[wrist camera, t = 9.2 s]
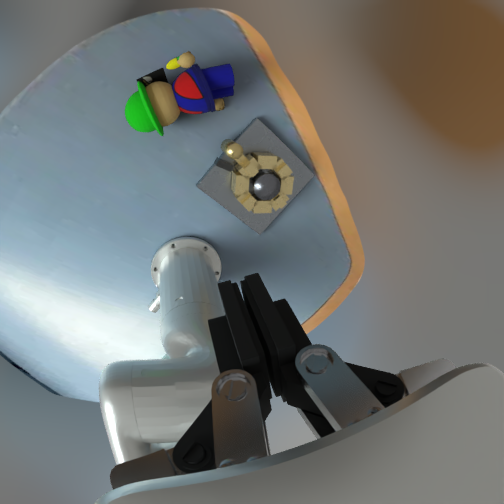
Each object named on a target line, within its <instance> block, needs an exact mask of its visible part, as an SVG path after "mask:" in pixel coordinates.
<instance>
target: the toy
mask: <svg viewBox="0 0 504 504" xmlns="http://www.w3.org/2000/svg"><path fill="white" fill-rule="evenodd" d="M194 62H195V57H194V56H193V55H192V54H191V52H189V51H188V52H186V53H183V54H182V55H181V56H179V57H176V58H174V59H172V60H171V61H169V62H168V64H167V66H166V68H167V69H176V68H178V67H180V66H181V67H184V68H189V67H191V66H192V67H191V68H189V69H187V70H186V71H184V72H183V73H181V74H180V75H179V76H178V77H177V78H176V79H175V81H174V82H173V84H172V85H170V84H168V81H167V78H166V75H165V72H164V69H163V68H161V69H159V70H156V71H154V72H152V73H150V74H148V75H145V76H143V77H141V78H139V79H137V82H138V90H139V91H137V92H135V93H134V94H133V95H132V96H131V97H130V98H129V100H128V101H127V104H126V108H125V116H126V119H127V121H128V123H129V124H130V126H131V127H132V128H134V129H135V130H137V131H140V132H151V131H154V130H157V132H158V133H159V134H160V135H161V136H163V134H164V133H163V127H164V126H168V125H170V124H172V123H173V122H174V121H175V120H176V119H177V118H178V116H179V114H180V111H182V112H185V113H189V114H201V113H206V112H210V111H211V112H213V111H215V110H217V111H220V110H223V109H224V100H223V99H222V98H223V97H228V96H233V95H234V90H233V86H234V75H233V70H232V67H231V65H230V64H225V65H220V66H215V67H210V68H206V69H200V67H199V66H198V65H197V64H194ZM193 64H194V65H193Z"/></svg>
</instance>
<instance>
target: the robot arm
mask: <svg viewBox="0 0 504 504" xmlns="http://www.w3.org/2000/svg"><path fill="white" fill-rule="evenodd" d="M172 244H174V245H172ZM205 246H206V247H205ZM155 267H156V268H155ZM221 267H222V266H221V261H220V258H219V255H218V253H217V252H216V250H215V249H214V248H213V247H212V246H211V245H210V244H209V243H207V242H206V241H204V240H201V239H198V238H195V237H179V238H176V239H172V240H170V241H168V242H166V243H165V244H164V245H162V246H161V247H160V248H159V249H158V250H157V252H156V253H155V255H154V257H153V260H152V264H151V275H152V279H153V281H154V283H155V285H156V286H157V288H158V291H157V293H156V297H155V299H153V300H152V302H151V303H150V304H149V305H148V307H149V309H150V310H151V311H152V312H154V313H156V312H157V311H158V310H159V309H160V334H161V341H162V344H163V347H164V349H165V351H166V353H167V355H168V356H169V357H170V359H153V360H126V361H116V362H113V363H110V364H108V365H107V366H106V367H105V368H104V369H103V370H102V373H101V375H100V379H99V400H100V406H101V411H102V416H103V420H104V424H105V428H106V431H107V435H108V438H109V442H110V445H111V449H112V452H113V455H114V458H115V461H116V464H117V465H116V466H115V467H114V468H113V469H112V470H111V473H110V482H111V485H112V488H113V490H112V491H110V492H108V493H106V494H105V495H103V496H102V497H100V498H99V499H98V500H97V501H96V503H95V504H504V374H503V373H502V372H501V371H500V370H499V369H498V368H496V367H495V366H493V365H490V364H487V363H474V364H468V365H465V366H461V367H458V368H456V366H455V365H454V364H453V363H452V362H451V361H449V360H447V359H437V360H434V361H431V362H428V363H425V364H422V365H419V366H415V367H412V368H409V369H405V370H401V371H400V372H399V374H395V375H394V374H391V373H387V372H383V371H379V370H375V369H371V368H367V367H362V366H358V365H354V364H350V363H347V362H344V361H343V360H342V359H341V358H340V357H339V356H338V355H337V353H336V352H335V351H334V350H332V349H331V348H330V347H328V346H325V345H320V344H315V345H312V344H311V342H310V340H309V338H308V337H307V335H306V333H305V332H304V330H303V328H302V326H301V325H300V323H299V321H298V319H297V318H296V316H295V314H294V312H293V311H292V309H291V307H290V306H289V304H288V302H287V301H286V299H281V300H278V301H274V302H273V301H272V299H271V297H270V295H269V293H268V291H267V289H266V287H265V285H264V284H263V282H262V280H261V278H260V276H259V274H258V273H255V274H252V275H248V276H245V280H243V281H240V283H241V288H242V293H243V298H244V300H243V298H242V295H241V293H240V290H239V287H238V285H237V283H231V281H230V280H229V281H225V282H221V283H218V280H219V278H220V275H221ZM269 381H270V382H269ZM270 383H271V386H272V388H273V391H274V393H275V396H276V397H278V396H281V397H282V399H283V402H286V401H287V403H288V405H291V406H294V407H296V408H297V410H298V412H299V413H300V415H301V416H302V418H303V419H304V421H305V422H306V424H307V425H308V427H309V428H310V429H311V431H312V432H313V434H314V435H315V437H316V438H317V440H315V441H312V442H309V443H307V444H304V445H301V446H298V447H295V448H292V449H289V450H286V451H283V452H280V453H277V454H274V455H271V452H270V446H269V440H268V435H267V429H266V423H265V420H266V418H267V417H268V415H269V413H270V412H271V410H272V409H271V404H270V399H271V398H272V394H271V388H270Z"/></svg>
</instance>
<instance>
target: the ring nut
mask: <svg viewBox="0 0 504 504" xmlns="http://www.w3.org/2000/svg"><path fill="white" fill-rule="evenodd" d="M221 149H222V151H223V152H224V153H225V154H226V155H227V156H228V157H230V158H231V159H234V160H235V161H236V162H237V164H236V165H235V166H234V167H235V168H236V169H237V170H238V171H232V180H231V190H232V191H233V194H234V196H235V197H236V199H237V200H238V201H239V202H240V203H241V204H242V205H243V206H244V207H245V208H246V209H247V210H248V211H250V210H251V211H252V212H253V213H271V212H272V208H273V209H274V210H275V211H277V210H278V209H279V208H281V209H282V208H283V207H284V206H285V205H286V204H287V203H286V202H287V201H288V200H289V198H288V196H287V195H292V189H293V182H294V176H292V175H291V173H293V172H292V170H291V169H290V168H289V167H288V165H287V164H286V163H285V162H284V161H283V159H282V158H280V157H278V156H276V155H274V154H272V153H264V152H253V157H252V156H251V155H249V154H247V155H246V156H244V155H243V148H242V146H241V145H239V144H238V143H236V142H234V141H233V140H231V139H226V140H224V141H223V142H222V144H221ZM259 169H271V170H272V171H273V172H274V174H275V176H276V177H277V178H278V179H279V181H280V191H279V193H278V194H277V196H276V197H274V198H273V199H270V200H262V199H260V198H258V197H257V196H256V195H252V194H251V193H250V192H249V179H250V178H251V177H254V176H255V175H256V174H257V173H258V172H259V171H258V170H259Z"/></svg>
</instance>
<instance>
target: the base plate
mask: <svg viewBox="0 0 504 504" xmlns="http://www.w3.org/2000/svg"><path fill="white" fill-rule="evenodd" d="M234 142H236V143H238V144H239V145H241V146H242V148H243V155H244V156H246V155H247V154H249V155H251V156H252V157H253V152H264V153H272V154H274V155H276V156H278V157H280V158H282V159H283V161H284V162H285V163H286V164H287V165H288V167H289V168H290V169H291V170H292V172H293V173H291V175H292V176H294V182H293V189H292V195H287V196H288V198H289V200H288V201H287V202H286V203H287V204H286V205H285V206H284V207H283V208H282V209H281V208H279V209H278V210H277V211H275V210H274V209H273V208H272V212H271V213H253V212H252V211H251V210H250V211H248V210H247V209H246V208H245V207H244V206H243V205H242V204H241V203H240V202H239V201H238V200H237V199H236V197H235V196H234V194H233V191H232V190H231V180H232V171H238V170H237V169H236V168H235V167H234V166H235V165H236V164H237V162H236V161H235V160H234V159H231V158H230V157H228V156H227V155H226V154H225V153H223V154H222V155H221V156H220V157H219V158H218V157H217V158H216V160H215V162H214V164H213V165H212V166H211V167H210V169H209V170H208V171H207V172H206V173H205V175H204V176H203V177H202V178H201V179H200V180H199V182H198V183H197V184H196V186H197V187H198V188H199V189H200V190H202V191H203V192H204V193H206V194H207V195H208V196H210V197H211V198H212V199H214V200H215V201H216V202H218V203H219V204H220V205H222V206H223V207H224V208H225V209H227V210H228V211H229V212H231V213H232V214H233V215H235V216H236V217H237V218H239V219H240V220H241V221H243V222H244V223H245V224H246V225H248V226H249V227H250V228H252V229H253V230H254V231H256V232H257V233H258V234H261V233H262V232H263V231H264V230H265V229H266V228H267V227H268V226H269V224H270V223H271V222H272V221H273V220H274V219H275V218H276V217H277V216H278V215H279V214H280V212H281V211H282V210H283V209H284V208H285V207H286V206H287V205H288V204H289V203H290V202H291V200H292V199H293V198H294V197H295V196H296V195H297V194H298V193H299V192H300V191H301V190H302V188H303V187H304V186H305V185H306V184H307V183H308V182H309V181H310V180H311V179H312V178H313V177H314V174H313V173H312V172H311V171H310V170H309V169H308V167H307V166H306V165H305V164H304V163H303V162H302V161H301V160H300V159H299V158H298V157H297V156H296V155H295V154H294V153H293V152H292V151H291V150H290V149H289V148H288V147H287V146H286V145H285V144H284V143H283V142H282V141H281V140H280V139H279V138H278V137H277V136H276V135H275V134H274V133H273V132H272V131H271V130H269V129H268V128H267V127H266V126H265V125H264V124H263V123H262V122H261V121H260V120H259V119H258V118H255V119H254V120H253V121H252V122H251V123H250V124H249V125H248V126H247V127H246V128H245V129H244V130H243V132H242V133H241V134H240V135H239V136H238V137H237V138H236V139H235V140H234ZM258 171H259V172H258V173H257V174H256V175H255V176H254V177H251V178H250V179H249V192H250V193H251V194H252V195H256V196H257V197H258V198H260V199H262V200H270V199H273V198H274V197H276V196H277V194H278V193H279V191H280V181H279V179H278V178H277V177H276V176H275V174H274V172H273V171H272V170H271V169H259V170H258Z"/></svg>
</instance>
